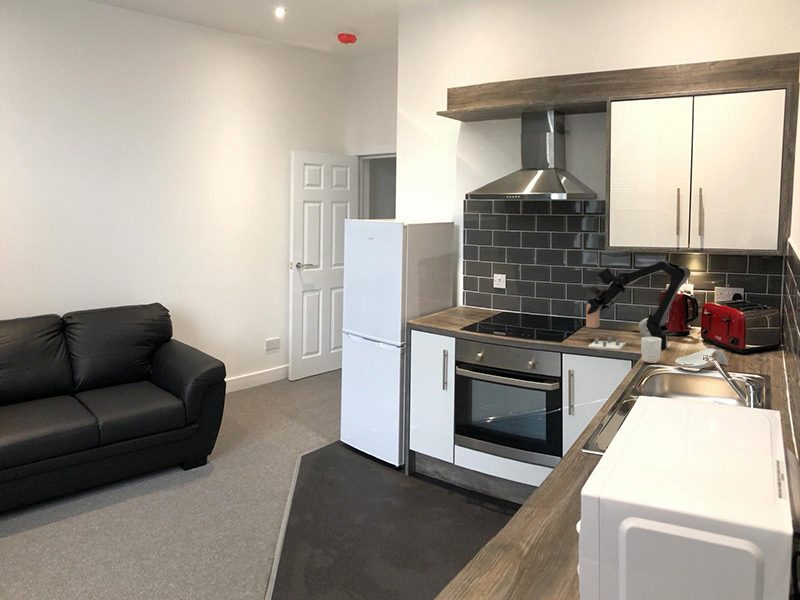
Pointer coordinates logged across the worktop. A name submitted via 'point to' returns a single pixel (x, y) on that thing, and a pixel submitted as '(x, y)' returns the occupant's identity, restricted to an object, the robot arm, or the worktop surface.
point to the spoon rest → (701, 359)
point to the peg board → (607, 344)
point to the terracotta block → (592, 318)
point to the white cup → (650, 348)
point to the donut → (644, 328)
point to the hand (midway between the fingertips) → (590, 313)
